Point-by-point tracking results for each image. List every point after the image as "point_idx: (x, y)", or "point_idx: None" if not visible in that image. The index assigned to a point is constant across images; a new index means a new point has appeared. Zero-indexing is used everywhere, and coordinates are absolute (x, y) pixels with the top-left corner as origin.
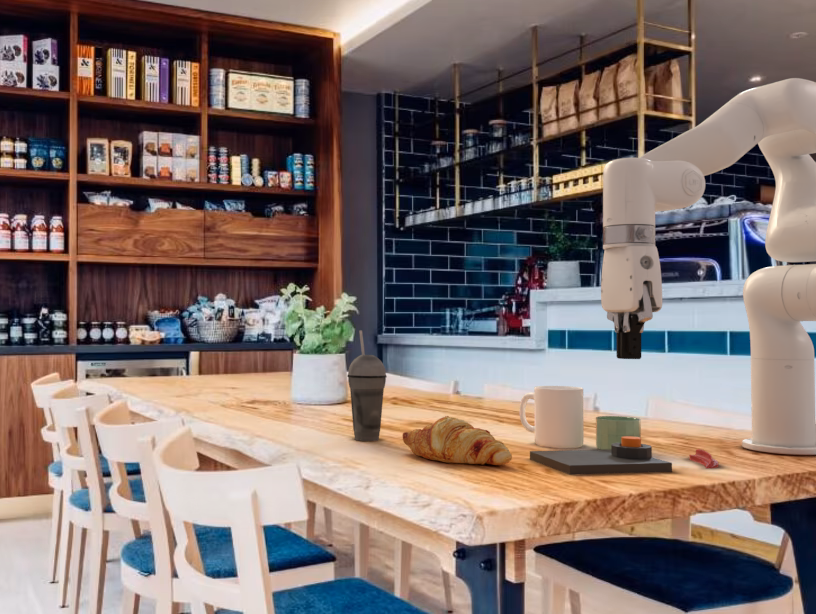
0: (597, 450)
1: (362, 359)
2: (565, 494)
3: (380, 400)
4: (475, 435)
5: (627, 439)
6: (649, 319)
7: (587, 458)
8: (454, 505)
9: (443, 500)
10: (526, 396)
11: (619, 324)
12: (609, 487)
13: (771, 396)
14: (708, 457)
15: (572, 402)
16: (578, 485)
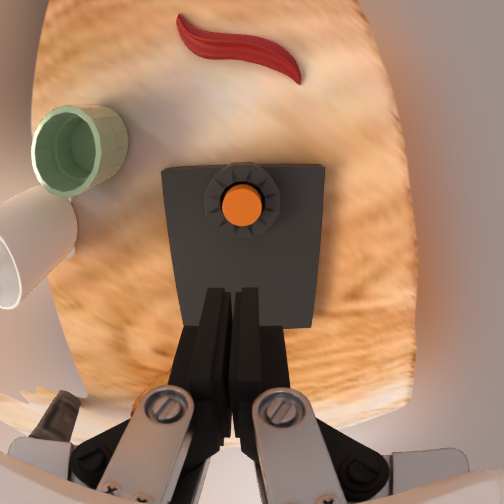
0: (177, 228)
1: None
2: (391, 352)
3: (58, 425)
4: None
5: (253, 221)
6: (439, 452)
7: (260, 283)
8: (383, 414)
9: (368, 418)
10: None
11: (204, 476)
12: (384, 305)
13: None
14: (259, 49)
15: (30, 248)
16: (363, 330)
